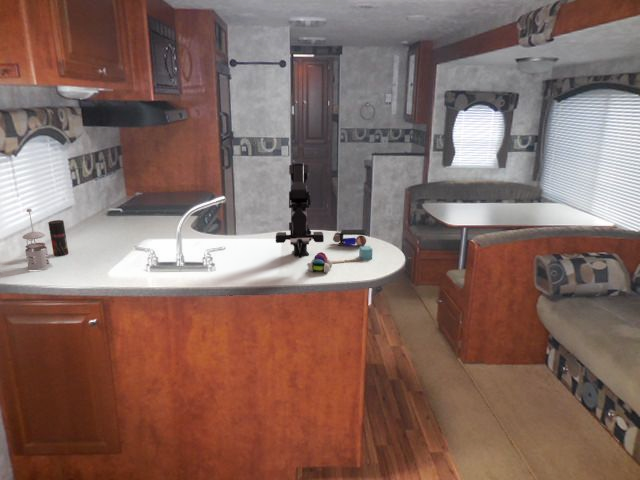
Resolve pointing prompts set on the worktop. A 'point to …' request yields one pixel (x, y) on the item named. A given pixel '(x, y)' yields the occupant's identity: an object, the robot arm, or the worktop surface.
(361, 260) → the brown segmented strip
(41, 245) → the french press
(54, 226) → the deodorant
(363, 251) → the teal cube
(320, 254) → the multicolored white-lobed toy
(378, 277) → the worktop surface
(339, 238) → the figurine character
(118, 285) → the worktop surface
